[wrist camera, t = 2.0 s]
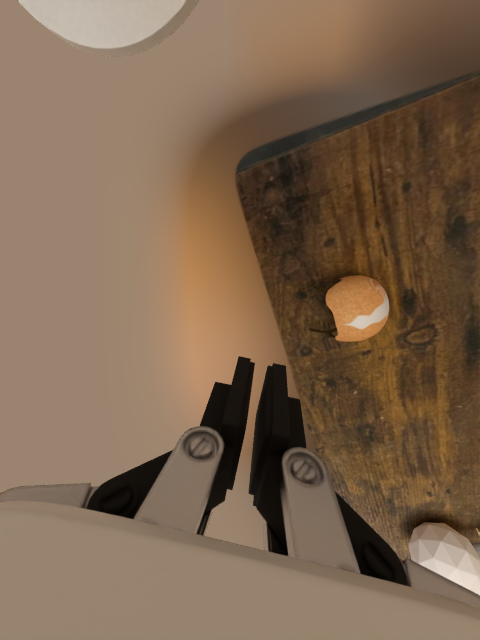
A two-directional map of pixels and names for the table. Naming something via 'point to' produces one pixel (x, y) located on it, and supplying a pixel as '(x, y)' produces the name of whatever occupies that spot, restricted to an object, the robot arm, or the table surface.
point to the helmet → (356, 307)
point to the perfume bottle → (447, 554)
